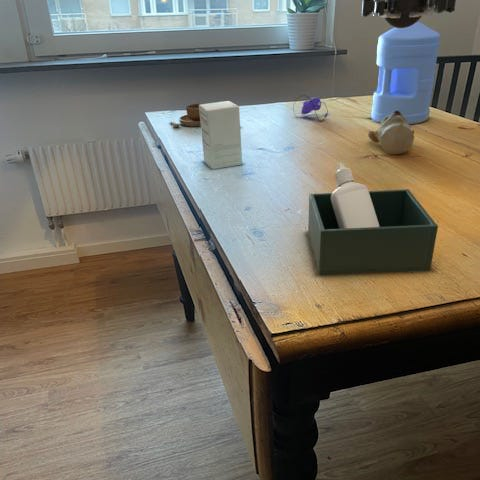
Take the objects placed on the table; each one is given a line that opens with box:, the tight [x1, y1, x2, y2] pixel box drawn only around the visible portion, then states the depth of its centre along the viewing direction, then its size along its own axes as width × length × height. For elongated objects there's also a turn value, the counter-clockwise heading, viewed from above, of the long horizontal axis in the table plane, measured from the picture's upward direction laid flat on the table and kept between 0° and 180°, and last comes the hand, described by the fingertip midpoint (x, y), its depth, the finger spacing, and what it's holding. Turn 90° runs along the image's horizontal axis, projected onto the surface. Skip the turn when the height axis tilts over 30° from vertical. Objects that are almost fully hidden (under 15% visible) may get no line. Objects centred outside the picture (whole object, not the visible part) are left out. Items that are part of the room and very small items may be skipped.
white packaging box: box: [199, 100, 243, 170], centre depth 112 cm, size 7×7×13 cm
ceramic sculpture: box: [368, 111, 415, 156], centre depth 116 cm, size 11×9×15 cm
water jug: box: [370, 20, 441, 126], centre depth 134 cm, size 16×16×28 cm
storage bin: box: [307, 188, 439, 276], centre depth 73 cm, size 15×14×7 cm
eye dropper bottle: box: [331, 161, 380, 229], centre depth 75 cm, size 4×6×12 cm
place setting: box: [170, 103, 202, 128], centre depth 147 cm, size 18×20×6 cm
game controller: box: [292, 95, 329, 122], centre depth 147 cm, size 10×8×10 cm
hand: (411, 5), depth 75 cm, fingers open, 8 cm apart
